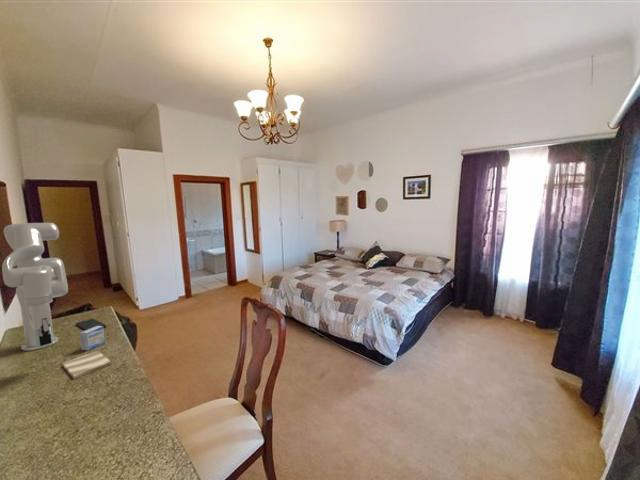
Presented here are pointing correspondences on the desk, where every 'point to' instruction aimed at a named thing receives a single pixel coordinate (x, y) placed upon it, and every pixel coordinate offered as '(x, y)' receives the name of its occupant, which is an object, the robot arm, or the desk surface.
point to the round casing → (38, 338)
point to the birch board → (86, 364)
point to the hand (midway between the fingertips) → (44, 341)
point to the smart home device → (89, 324)
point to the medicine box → (92, 338)
